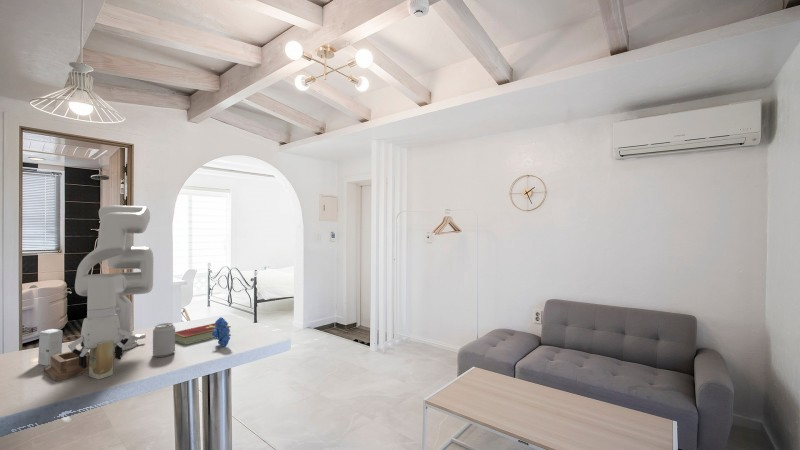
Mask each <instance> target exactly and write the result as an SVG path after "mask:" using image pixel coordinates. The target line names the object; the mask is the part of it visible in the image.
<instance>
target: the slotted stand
mask: <svg viewBox="0 0 800 450" xmlns="http://www.w3.org/2000/svg"><path fill="white" fill-rule="evenodd" d="M85 356H87V367H86V368H82V367H81V366H79V355H77V354H75V353H73V352H72V351H71V350H70V351H66V352H62V353H61V354H57V355H52V356H51V365H49V366H45V367H43V368H42V373H44V374H45V375H46V376H48V377H49V378H50V379H51V380H53V381H54V382H58V381H62V380H65V379H70V378H74V377H78V376H82V375H84V374H89V357H90V351H88V352H87V353H86V354H85Z"/></svg>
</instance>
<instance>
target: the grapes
mask: <svg viewBox="0 0 800 450" xmlns="http://www.w3.org/2000/svg"><path fill="white" fill-rule="evenodd" d="M214 323H215V325H216V327H215V329H214V331H213V332H212V335H213V336H214V338H215V340H218V341H217V343H218V345H219V346H221V347H227V346H228V344H229V341H230V339H231V336H229V334H230V332H231V329H230V327H229V328H227V325H228V326H229V322H228V321H226V319H225V318H224V317H221V316H220V317H219V318H217V319H216V320H215V322H214Z"/></svg>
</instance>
